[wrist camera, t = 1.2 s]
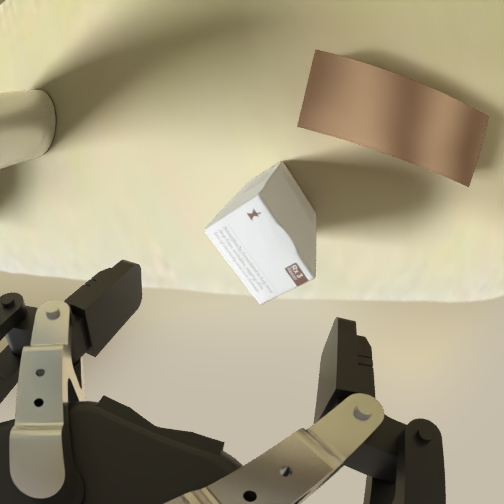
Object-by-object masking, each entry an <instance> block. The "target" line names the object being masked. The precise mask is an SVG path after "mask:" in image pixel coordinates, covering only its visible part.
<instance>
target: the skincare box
mask: <svg viewBox="0 0 504 504" xmlns="http://www.w3.org/2000/svg"><path fill="white" fill-rule="evenodd" d="M204 232H205V233H206V234H207V236H208V237H209V238H210V240H211V241H212V242H213V244H214V245H215V246H216V248H217V249H218V250H219V251H220V253H221V254H222V255H223V257H224V258H225V259H226V261H227V262H228V263H229V265H230V266H231V267H232V269H233V270H234V271H235V272H236V274H237V275H238V276H239V278H240V279H241V280H242V282H243V283H244V284H245V286H246V287H247V288H248V290H249V291H250V292H251V293H252V295H253V296H254V297H255V299H256V300H257V301H258V303H259V304H263V303H265V302H267V301H269V300H271V299H273V298H275V297H277V296H280V295H282V294H284V293H286V292H288V291H290V290H292V289H294V288H296V287H298V286H300V285H302V284H304V283H306V282H308V281H311V280H313V279H314V278H315V277H316V212H315V211H314V209H313V208H312V206H311V204H310V203H309V201H308V200H307V198H306V196H305V195H304V193H303V192H302V190H301V189H300V187H299V185H298V184H297V182H296V181H295V179H294V178H293V176H292V175H291V173H290V172H289V170H288V169H287V167H286V166H285V164H284V163H283V162H282V161H280V162H278V163H277V164H275V165H274V166H272V167H270V168H269V169H267V170H266V171H264V172H263V173H261V174H259V175H258V176H256V177H255V178H253V179H252V180H250V181H249V182H247V183H246V184H245V186H244V187H243V188H242V189H241V190H240V191H239V192H238V193H237V194H236V195H235V196H234V197H233V198H232V199H231V200H230V201H229V203H228V204H227V205H226V206H225V207H224V208H223V209H222V210H221V211H220V212H219V213H218V214H217V215H216V217H215V218H214V219H213V220H212V221H211V222H210V223H209V224H208V225H207V226H206V227H205V229H204Z"/></svg>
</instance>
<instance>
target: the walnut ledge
mask: <svg viewBox="0 0 504 504" xmlns="http://www.w3.org/2000/svg"><path fill="white" fill-rule="evenodd" d="M488 118H489V116H487V115H485V114H483V113H482V112H480V111H478V110H476V109H474V108H472V107H470V106H468V105H466V104H464V103H463V102H461V101H459V100H456V99H454V98H452V97H450V96H448V95H446V94H444V93H442V92H440V91H437V90H435V89H433V88H431V87H428V86H426V85H423V84H421V83H419V82H416V81H414V80H411V79H409V78H406V77H404V76H401V75H398V74H396V73H393V72H390V71H387V70H384V69H382V68H379V67H376V66H373V65H369V64H366V63H363V62H360V61H357V60H353V59H350V58H346V57H343V56H339V55H335V54H332V53H328V52H324V51H319V50H315V54H314V58H313V62H312V67H311V71H310V75H309V79H308V84H307V88H306V92H305V96H304V101H303V105H302V109H301V113H300V117H299V122H298V126H297V127H301V128H305V129H308V130H312V131H316V132H319V133H323V134H326V135H330V136H333V137H337V138H340V139H343V140H347V141H350V142H353V143H356V144H359V145H362V146H365V147H369V148H371V149H374V150H377V151H380V152H383V153H386V154H389V155H392V156H394V157H397V158H400V159H403V160H405V161H408V162H410V163H413V164H416V165H418V166H421V167H423V168H426V169H428V170H431V171H433V172H435V173H438V174H440V175H443V176H445V177H447V178H449V179H452V180H454V181H456V182H458V183H461V184H463V185H465V186H467V187H469V185H470V182H471V179H472V176H473V173H474V170H475V166H476V163H477V160H478V157H479V153H480V150H481V146H482V142H483V139H484V135H485V131H486V127H487V123H488Z"/></svg>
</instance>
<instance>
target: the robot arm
mask: <svg viewBox="0 0 504 504" xmlns="http://www.w3.org/2000/svg"><path fill="white" fill-rule="evenodd" d="M55 125H56V117H55V109H54V106H53V103H52V101H51V98H50V97H49V96H48V94H47V93H45V92H44V91H42V90H27V91H17V92H7V93H0V169H2V168H5V167H8V166H11V165H14V164H17V163H21V162H24V161H27V160H30V159H33V158H37V157H40V156H41V155H43V154H44V153H45V152H46V151H47V150H48V148H49V147H50V145H51V142H52V140H53V137H54V133H55ZM141 299H142V284H141V267H140V265H139V264H136V263H132V262H129V261H126V260H121V261H120V262H119V263H117V264H116V265H115V266H114V267H112V268H108V269H105V270H103V271H100V272H99V273H97V274H96V275H95V276H94V277H92V278H91V280H89V281H87V282H86V283H85V285H83V286H81V287H80V288H79V289H78V290H77V291H75V292H74V293H73V294H72V295H71V296H69V297H68V298H67V299H66V300H65V301H64V302H63V301H60V300H52V301H48V302H45V303H43V304H42V305H41V306H40V307H39V308H35V307H29V306H25V303H24V300H23V297H22V296H21V295H20V294H17V293H7V294H4V295H2V296H1V297H0V340H1V339H2V338H3V337H4V336H5V337H6V339H7V341H8V344H9V345H8V346H7V347H6V348H5V349H4V350H3V351H2V352H1V353H0V403H1V402H2V401H3V400H4V398H5V397H6V396H7V395H8V393H9V392H10V391H11V390H12V389H13V387H14V386H15V385H16V383H17V382H18V388H17V399H16V413H15V419H13V420H10V421H6V422H2V423H0V504H301V503H302V502H303V501H304V500H306V499H307V498H308V497H309V496H310V495H311V494H313V493H314V492H315V491H316V490H317V489H318V488H320V487H321V486H322V485H323V484H324V483H325V482H326V481H328V480H329V479H330V478H331V477H332V476H333V475H334V474H336V473H337V472H338V471H339V470H340V469H341V468H342V467H343V466H344V465H345V466H348V467H350V468H352V469H354V470H357V471H359V472H362V473H364V474H366V475H367V480H366V488H365V497H364V503H363V504H446V494H445V471H444V456H443V446H442V436H441V433H440V431H439V429H438V428H437V426H436V425H434V424H433V423H432V422H430V421H429V420H425V419H415V420H413V421H411V422H410V423H409V424H408V425H406V424H403V423H401V422H398V421H396V420H394V419H391V418H389V417H388V416H386V415H385V414H384V409H383V407H382V405H381V404H380V403H379V401H378V400H376V399H375V386H374V372H373V368H372V367H373V361H372V350H371V346H370V344H369V343H368V341H367V339H366V338H365V337H363V336H358V335H357V334H356V322H355V321H351V320H347V319H343V318H338V317H337V318H336V319H335V321H334V323H333V326H332V329H331V332H330V334H329V336H328V339H327V341H326V344H325V347H324V350H323V353H322V357H321V363H320V374H319V383H318V393H317V402H316V409H315V417H314V425H312V426H311V427H310V428H308V429H307V430H305V429H299V430H298V431H296V432H295V433H293V434H292V435H290V436H289V437H287V438H286V439H284V440H283V441H281V442H280V443H278V444H277V445H275V446H274V447H272V448H271V449H269V450H268V451H266V452H265V453H263V454H262V455H260V456H259V457H257V458H256V459H254V460H252V461H251V462H249V463H247V464H246V465H244V466H242V464H241V463H239V462H238V461H237V460H236V459H235V458H233V457H232V456H231V455H229V454H227V453H226V452H224V451H223V447H224V442H221V441H218V440H215V439H211V438H208V437H205V436H202V435H199V434H196V433H193V432H187V431H180V430H173V429H166V428H160V427H156V426H154V425H153V424H151V423H150V422H149V421H147V420H146V419H145V418H143V417H142V416H140V415H139V414H138V413H136V412H135V411H134V410H132V409H131V408H130V407H127V406H125V405H123V404H121V403H119V402H117V401H114V400H112V399H110V398H108V397H106V396H103V397H102V398H101V400H100V401H99V402H92V401H86V398H85V388H84V371H83V359H82V356H83V355H84V354H85V352H86V353H88V354H90V355H92V356H94V357H96V356H97V355H98V354H99V352H100V351H101V350H102V349H103V348H104V347H105V345H106V344H107V343H108V342H109V341H110V340H111V339H112V337H113V336H114V335H115V334H116V333H117V332H118V330H119V329H120V328H121V327H122V326H123V325H124V324H125V323H126V322H127V320H128V319H129V318H130V317H131V316H132V315H133V314H134V313H135V311H136V310H137V309H138V308H139V306H140V303H141Z"/></svg>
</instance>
